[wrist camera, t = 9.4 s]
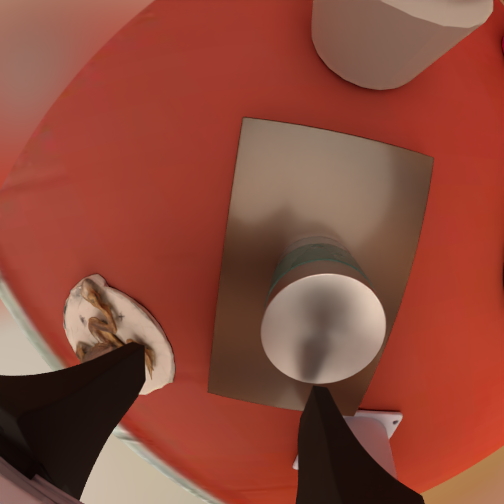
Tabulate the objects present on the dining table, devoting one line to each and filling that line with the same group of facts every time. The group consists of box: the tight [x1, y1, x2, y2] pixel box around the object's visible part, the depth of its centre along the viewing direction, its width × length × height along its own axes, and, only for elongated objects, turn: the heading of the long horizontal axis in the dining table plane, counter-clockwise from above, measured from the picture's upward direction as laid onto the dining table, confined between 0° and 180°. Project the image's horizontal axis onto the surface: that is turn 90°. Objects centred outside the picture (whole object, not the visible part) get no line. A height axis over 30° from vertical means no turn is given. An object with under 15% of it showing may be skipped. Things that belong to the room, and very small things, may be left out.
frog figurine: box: [64, 274, 175, 395], centre depth 22 cm, size 12×12×4 cm
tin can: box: [261, 237, 386, 384], centre depth 15 cm, size 5×5×7 cm
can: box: [312, 0, 493, 90], centre depth 9 cm, size 8×8×12 cm
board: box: [207, 117, 434, 417], centre depth 19 cm, size 20×12×1 cm, turn 171°
